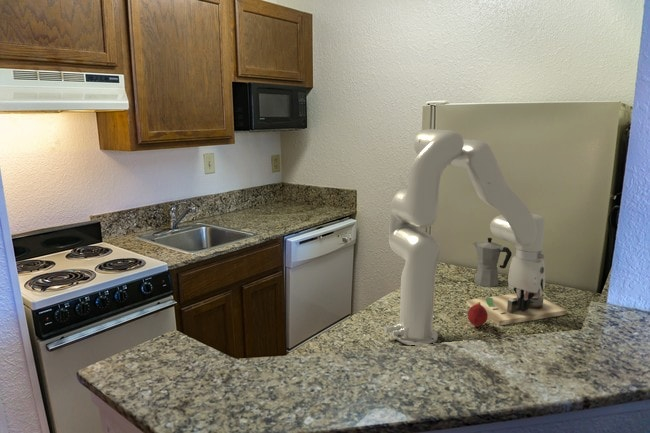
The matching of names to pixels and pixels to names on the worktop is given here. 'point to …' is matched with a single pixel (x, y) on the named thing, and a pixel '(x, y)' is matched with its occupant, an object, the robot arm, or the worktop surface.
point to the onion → (477, 315)
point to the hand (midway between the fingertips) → (523, 309)
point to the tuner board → (501, 316)
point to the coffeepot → (489, 262)
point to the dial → (534, 303)
